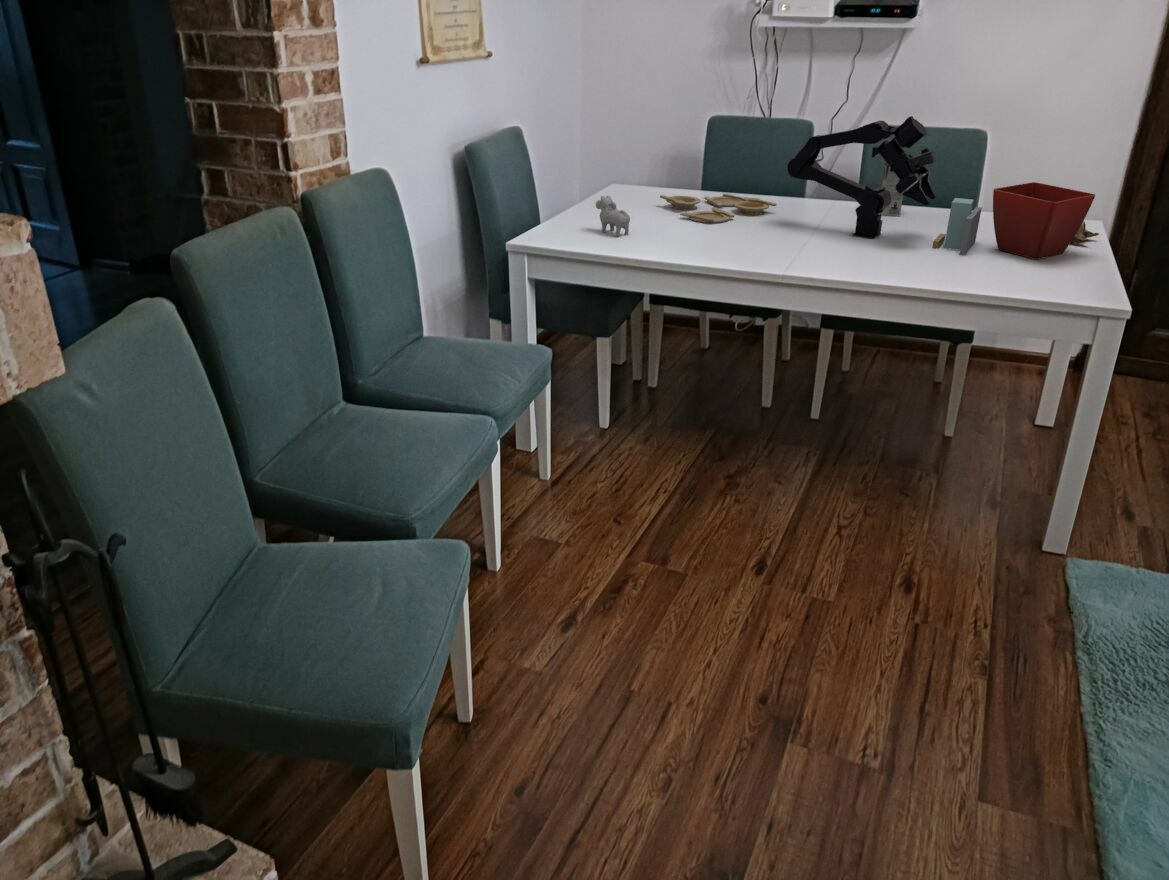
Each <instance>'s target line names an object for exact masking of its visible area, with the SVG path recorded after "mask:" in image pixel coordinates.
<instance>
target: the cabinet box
mask: <svg viewBox="0 0 1169 880" xmlns="http://www.w3.org/2000/svg"><path fill="white" fill-rule="evenodd" d="M974 201H975V200H974V199H970V198H960V197H959V198H958V197H955V198H953V200H952V201H951V205H950V212H949V215H948V216H949V217H948V223H947V228H946V232H945V234H946V236H945V241H944V245H943V249H949V248H951V250H957V249H958V251H960V249H961V243H962V238H963V233H964V227H965V222H966V218H967V217H968V216H969V215H970V214H971V212H972V211H973V205H974Z"/></svg>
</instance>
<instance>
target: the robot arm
mask: <svg viewBox="0 0 1169 880" xmlns="http://www.w3.org/2000/svg"><path fill="white" fill-rule="evenodd" d="M927 134H928V133H927V130H926V127H925V126H924V124H923V123H920V122H919V120H917V119H916V118H915V117H914V116H913V115H911V116H909V117H907V118H906V119H905V120H904V121H903V123H901V124H900V125H899V126H898V127H897V126H892V125H889V123H887V122H886V121H885V120H877V121H874V122H871V123H868V124H865V125H863V126H859V127H857V128H855V129H849V130H844V131H838V132H832V133H827V134H817V135H814V136H811V137H809V138H808V140H807V141H806V143H805V144H804V146H803V147H802V148H801V149H800V150H799V152H797V154H796V155H795V156H794V158H791V160H789V161H788V163H787V165H786V166H787V168H786V170H787V172H788V175H789V176H790V177H792V178H794V179H799V180H805V181H811V182H812V181H813V182H815V183H817V184H820V185H822V186H825V187H827V188H829V189H832V190H834V191H836V192H838V193H840V194H843V195H845V196H847V197H850V198H852V199H854V201H856V202H857V203H858V204H859V206H858V207H856V208H855V215H856V221H855V224H856V225H855V228H854V229H855V230H854V232H853V233H852V236H854V237H862V238H867V239H874V238H876V237H879V236H881V235H882V233H881V232H882V227H883V226H882V225H883V220H882V216H881V215H880V213H882V212H883V210H884V208H886V207H887V206H889V204H890V203H891V195H890V192H889V191H888V190H886V189H885V188H886V187H882V185H879V184H878V183H876V182H871V183H869V184H867V185H864V184H861V183H858V182H856V181H855V180H854V181H853V180H852V179H850V178H847V177H845V176H842V175H840V174H838V173H835V172H833V171H831V170H828V169H826V168H824V167H823V166H821V165H820V163H819V162H818V161H817V159H818V157H819V154H820V152H821V150H822V149H826V148H831V147H832V148H833V147H838V146H843V145H849V144H850V145H851V144H863V145H867V144H869V145H875V144H878V143H881V144H880V145H878V146H877V145H876V146H873V147H872V149H871V150H872V151H871V156H870V157H871V158H875V157H876V156H878V155H879V156H880V157H881V158H882V160H883V161H884V162H886V163H887V164H888V166H889V167H890V168H891V169H890V171H891V172H894V173H895V174H896V176H897V177H898V178H899V179H900V180H899V183H897V184H896V190H897V192H898V193H899V194H901V193H902V192H903V191H904V193H903V194H902V195H903V197H907V198H909V199H911V200H914V201H916V202H918V203H920V204H921V205H923V206H926V207H927V206H929V205H930V201H929V199H931V201H932V200H935V199H936V195H935V192H934V190H933V187H932V184H931V182H930V175H931V171H930V170H931V168H930V167H929V166H928V165H931V164H934V163H935V162H936V161H937V159H936V158H937V157H936V152H935V151H934V149H930V148H929V147H925V148H923V149H921V153H920V154H917V155H913V154H911V153H907V151H905V148H907V149H912V147H913V146H914V145H916V144H917V143H918V142H919V141H921V139H923V138H924V137H926V136H927ZM891 137H893V138H892V139H891V140H887V139H889V138H891ZM882 141H883V142H882ZM928 198H929V199H928Z"/></svg>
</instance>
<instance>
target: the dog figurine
mask: <svg viewBox="0 0 1169 880" xmlns="http://www.w3.org/2000/svg"><path fill="white" fill-rule="evenodd" d="M595 208H596V209H597V210H601V211H600V212H599V220H600V223H601V231H600V234H605V233H606V232H607V231H606V230H607V229H606V228H607V226H608V225H609V231H610V232H614V231H615V230H616V231H615V235H614V237H615V238H620V236H621V230H622V229H624V230H625V231H624V233H623V236H629V228H630V222H631V217H630V215H629V214H628V212H626V211H625V210H623V209H620V210H619V209H618V208H617V203H616V202H614V201H613V199H612V197H611V195H606V196H605V195H602V196H600V199H597V200H596V202H595Z"/></svg>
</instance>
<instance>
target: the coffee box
mask: <svg viewBox="0 0 1169 880" xmlns="http://www.w3.org/2000/svg"><path fill="white" fill-rule="evenodd" d="M884 162H885V161H884ZM890 169H891V168H890V167H889V166H888V164H887V163H886V162H885V163H884V170H883V175H882V184H881V186H882V187H886V188H885V189H886V190H888V191H889V192H890V195H891V203H890V204H889V206H887V207H886V208H884V210H883V212H882V213H880V214H879V215H881V217H882V216H883V217H884V216H885V217H901V212H902V204H903V199H904V195H902V194H903V193H904V192H905V190H904V191H903V192H902V193H901V194H899V193H898V192H897V190H896V184H897V183H899V180H900V179H899V178H898V177H897V176H896V174H895V173H894V172H891V171H890Z"/></svg>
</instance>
